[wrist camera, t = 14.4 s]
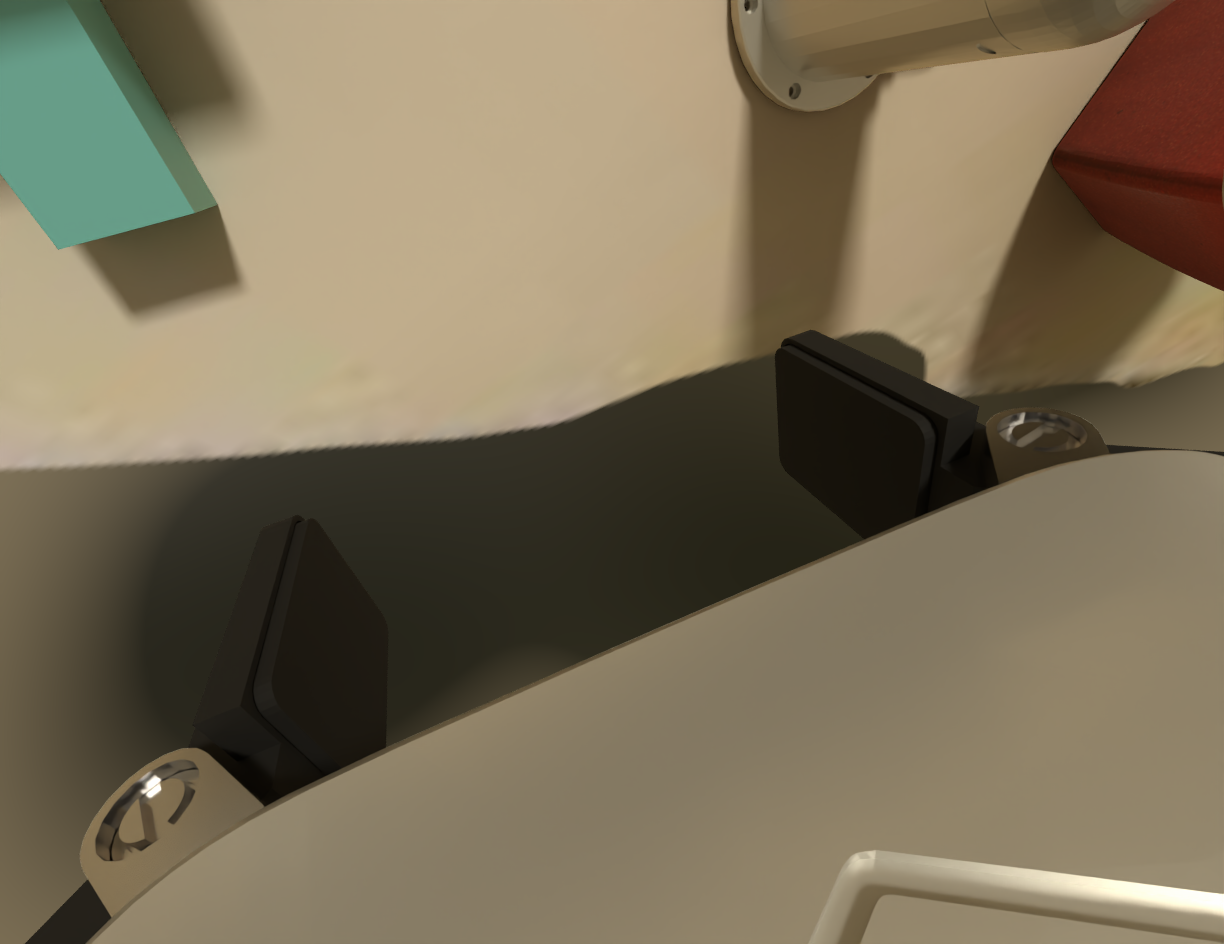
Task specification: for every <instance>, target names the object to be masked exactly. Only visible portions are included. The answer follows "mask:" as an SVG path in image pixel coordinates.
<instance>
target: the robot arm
mask: <svg viewBox="0 0 1224 944" xmlns="http://www.w3.org/2000/svg"><path fill="white" fill-rule="evenodd" d="M1174 1H1175V0H731V17H732V23H733V29H734V35H735V40H736V44H737V47H738V50H739V53H740V56H741V59H742V62H743V64H744V66H745V67H746V69H747V71H748V73H749V75H750V77H751V79H752V80H753V82H754V83H755V84H756V85H757V86H758V88H759V89H760V90H761V91H762V92H763V94H764V95H766V96H767V97H768V98H770V99H771V100H772V101H774V102H775V103H776V104H778V105H780V106H783V107H785V108H788V109H790V110H794V111H803V112H812V111H824V110H827V109H831V108H834V107H837V106H840V105H842V104H844V103H845V102H847V101H849V100H851V99H853V98H855V97H856V96H857V95H858V94H859V93H861V92H862V91H863V90H864V89H865V88H867V87H868V86H869V85H870V84H871V83H872V82H873V81H874V79H875V78H876V77H877V76H878V75H879V74H883V73H890V72H897V71H905V70H912V69H920V68H927V67H935V66H942V65H950V64H957V63H965V62H972V61H980V60H987V59H994V58H1002V57H1009V56H1017V55H1024V54H1032V53H1039V52H1050V51H1057V50H1064V49H1071V48H1076V47H1080V46H1085V45H1089V44H1093V43H1097V42H1100V41H1102V40H1105V39H1108V38H1111V37H1113V36H1116V35H1118V34H1121V33H1122V32H1124V31H1126V30H1128V29H1130V28H1132V27H1134V26H1136V25H1138V24H1140V23H1142V22H1144V21H1146V20H1147V19H1149V18H1150V17H1152V16H1154V15H1155V14H1157V13H1158V12H1160V11H1161V10H1162V9H1164V8H1165V7H1167V6H1168V5H1169V4H1171V3H1172V2H1174ZM744 2H745V3H746V10H745V7H744ZM1222 201H1223V207H1224V176H1223V185H1222ZM775 366H776V387H777V411H778V432H779V456H780V461H781V464H782V466H783V468H784V469H785V471H786V472H787V473H788V474H789V475H790V476H792V477H793V478H794V479H795V480H796V481H797V482H799V483H800V484H801V485H802V486H803V487H804V488H805V489H807V490H808V491H809V492H810V493H811V494H812V495H814V496H815V497H816V498H817V499H818V500H819V501H821V502H822V503H823V504H824V505H826V507H828V508H829V509H830V510H831V511H832V512H833V513H835V514H836V515H837V516H838V517H839V518H841V519H842V520H843V521H844V522H845V523H846V524H847V525H849V526H850V527H851V528H852V529H853V530H854V531H856V532H857V533H858V534H859V535H860V536H861V537H862V538H864V539H865V540H863V541H860V542H858V543H856V544H853V545H851V546H849V547H846V548H844V549H841V550H839V551H837V552H834V553H832V554H830V555H827V556H825V557H823V558H820V559H818V560H816V561H813V562H811V563H809V564H806V565H804V566H801V567H799V568H797V569H794V570H792V571H790V572H787V573H785V574H783V575H780V576H778V577H776V578H773V579H771V580H769V581H766V582H764V583H762V584H759V585H757V586H755V587H752V588H750V589H748V590H745V591H743V592H741V593H739V594H736V595H734V596H732V597H729V598H727V599H725V600H722V601H720V602H718V603H715V604H713V605H711V606H709V607H706V608H704V609H701V610H699V611H697V612H694V613H692V614H690V615H687V616H685V617H683V618H681V619H678V620H676V621H674V622H671V623H669V624H667V625H664V626H662V627H660V628H657V629H655V630H653V631H651V632H648V633H646V634H644V635H641V636H639V637H637V638H634V639H632V640H630V641H628V642H625V643H623V644H621V645H618V646H616V647H614V648H611V649H609V650H607V651H605V652H602V653H600V654H598V655H595V656H593V657H591V658H589V659H586V660H584V661H582V662H579V663H577V664H575V665H572V666H570V667H568V668H566V669H563V670H561V671H559V672H557V673H554V674H552V675H550V676H547V677H545V678H543V679H541V680H538V681H536V682H534V683H531V684H529V685H527V686H525V687H522V688H520V689H518V690H515V691H513V692H511V693H509V694H506V695H504V696H502V697H500V698H497V699H495V700H493V701H491V702H488V703H486V704H484V705H481V706H479V707H477V708H474V709H472V710H470V711H468V712H465V713H463V714H461V715H459V716H456V717H454V718H452V719H449V720H447V721H445V722H443V723H440V724H438V725H436V726H434V727H431V728H429V729H427V730H425V731H422V732H420V733H418V734H416V735H414V736H411V737H409V738H407V739H405V740H402V741H400V742H398V743H395V744H393V745H391V746H389V747H386V719H387V716H386V715H387V670H388V628H387V624H386V621H385V618H384V616H383V614H382V613H381V611H380V610H379V609H378V607H377V606H376V604H375V603H374V601H373V600H372V599H371V597H370V596H369V594H368V593H367V591H366V590H365V589H364V587H363V586H362V584H361V583H360V581H359V580H358V579H357V577H356V576H355V574H354V573H353V571H352V570H351V569H350V567H349V566H348V564H347V563H346V561H345V560H344V559H343V558H342V556H341V554H340V553H339V551H338V550H337V549H336V547H335V546H334V544H333V543H332V541H331V540H330V539H329V537H328V536H327V534H326V533H325V532H324V530H323V529H322V527H321V526H320V524H319V523H318V522H317V521H316V520H315V519H313V518H310V519H308V520H305V519H304V518H302V517H301V516H299V515H295V516H293V517H290V518H287V519H284V520H281V521H278V522H276V523H273V524H270V525H267V526H265V527H263V528H262V529H261V531H260V534H259V537H258V540H257V543H256V546H255V548H254V551H253V554H252V557H251V560H250V563H249V565H248V569H247V571H246V574H245V577H244V580H243V583H242V585H241V588H240V591H239V594H238V597H237V600H236V603H235V605H234V608H233V611H232V614H231V617H230V619H229V622H228V625H227V628H226V631H225V634H224V637H223V640H222V643H221V645H220V649H219V651H218V654H217V657H216V660H215V662H214V665H213V668H212V671H211V674H210V677H209V679H208V682H207V685H206V688H205V691H204V694H203V696H202V699H201V702H200V705H199V708H198V711H197V713H196V716H195V719H194V722H193V726H194V727H195V730H194V733H193V736H192V739H191V741H190V744H189V748H183V749H180V750H177V751H174V752H171V753H168V754H166V755H163V756H162V757H160V758H158V759H156V760H155V761H153V762H151V763H149V764H148V765H146V766H145V767H143V768H142V769H141V770H139V771H138V772H137V773H136V774H134V775H133V776H132V777H131V778H129V779H128V780H127V781H126V782H125V783H124V784H123V785H122V786H121V787H120V788H119V789H118V790H117V791H116V792H115V793H114V794H113V795H112V796H111V797H110V798H109V799H108V800H107V802H106V803H105V804H104V806H103V807H102V808H101V810H100V811H99V812H98V814H97V815H96V816H95V818H94V819H93V821H92V823H91V825H90V827H89V829H88V831H87V833H86V835H85V837H84V839H83V843H82V847H81V852H80V856H79V857H80V861H81V866H82V870H83V872H84V873H85V875H86V877H87V878H88V880H87V881H86V882H85V883H84V884H83V885H82V886H81V887H80V888H79V889H78V890H77V891H76V892H75V893H74V894H73V895H72V896H71V897H70V898H69V899H68V900H67V901H66V902H65V903H64V904H63V905H62V906H61V907H60V908H59V909H58V910H57V911H56V913H54V915H52V916H51V918H50V919H49V920H48V921H47V922H46V923H45V924H44V925H43V926H42V927H41V928H40V929H39V930H38V931H37V932H36V933H35V934H34V935H33V936H32V937H31V938H30V939H29V940H28V941H27V942H26V943H25V944H1224V452H1214V451H1199V450H1182V449H1165V448H1149V447H1132V446H1115V445H1106V444H1105V442H1104V440H1103V438H1102V436H1101V434H1100V433H1099V431H1098V430H1097V429H1096V428H1095V427H1094V426H1093V424H1091V423H1090V422H1088V421H1086V420H1085V419H1083V418H1081V417H1079V416H1076V415H1073V414H1071V413H1068V412H1064V411H1060V410H1055V409H1050V408H1036V407H1027V408H1015V409H1010V410H1006V411H1002V412H1000V413H998V414H996V415H994V416H992V417H991V418H990V419H989V421H988V422H987V423H986V426H984V425H982V424H980V423H978V422H976V419H977V414H978V409H979V406H977V405H974V404H972V403H970V402H968V401H966V400H964V399H962V398H959V397H957V396H955V395H953V394H951V393H949V392H946V391H944V390H942V389H940V388H938V387H936V386H933V385H931V384H929V383H927V382H925V381H923V380H920V379H918V378H916V377H914V376H911V375H910V374H907V373H905V372H903V371H901V370H899V369H897V368H894V367H892V366H890V365H888V364H886V363H884V362H881V361H879V360H877V359H875V358H873V357H870V356H868V355H866V354H864V353H862V352H860V351H858V350H855V349H853V348H851V347H849V346H847V345H845V344H842V343H840V342H838V341H836V340H834V339H832V338H830V337H827V336H825V335H823V334H821V333H819V332H817V331H814V330H809V331H806V332H803V333H800V334H798V335H795V336H792V337H789V338H787V339H784V341H783V342H782V344H781V348H779V349H778V350H777V351H776V354H775Z"/></svg>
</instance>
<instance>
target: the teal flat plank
mask: <svg viewBox="0 0 1224 944" xmlns="http://www.w3.org/2000/svg"><path fill="white" fill-rule="evenodd" d="M0 174H1V175H2V177H3V178H4V179H5V181H6V182H7V183H8V185H9V186H10V187H11V188H12V190H13V191H14V192H15V194H16V195H17V196H18V198H19V199H20V200H21V202H22V203H23V204H24V205H25V207H26V208H27V209H28V211H29V212H30V213H31V215H32V216H33V217H34V219H35V220H36V221H37V222H38V224H39V225H40V226H41V228H42V229H43V230H44V232H45V233H46V234H47V236H48V237H49V238H50V239H51V241H52V242H53V243H54V245H55V246H56V247H57V249H58V250H59V249H62V248H66V247H70V246H74V245H77V244H81V243H85V242H89V241H92V240H96V239H100V238H104V237H107V236H111V235H115V234H118V233H122V232H126V231H130V230H133V229H137V228H141V227H145V226H148V225H152V224H156V223H160V222H163V221H167V220H171V219H175V218H178V217H182V216H186V215H190V214H193V213H196V212H199V211H202V210H205V209H207V208H210V207H213V206H216V205H218V204H217V203H216V201H215V199H214V197H213V196H212V194H211V192H210V191H209V189H208V187H207V185H206V184H205V182H204V180H203V178H202V177H201V175H200V173H199V171H198V170H197V168H196V166H195V165H194V163H193V161H192V159H191V158H190V156H189V154H188V152H187V151H186V149H185V147H184V145H183V144H182V142H181V140H180V139H179V137H178V135H177V133H176V132H175V130H174V128H173V126H172V125H171V123H170V121H169V119H168V118H167V116H166V114H165V113H164V111H163V109H162V107H161V106H160V104H159V102H158V100H157V99H156V97H155V95H154V93H153V92H152V90H151V88H150V87H149V85H148V83H147V81H146V80H145V78H144V76H143V74H142V73H141V71H140V69H139V68H138V66H137V64H136V62H135V61H134V59H133V57H132V55H131V54H130V52H129V50H128V48H127V47H126V45H125V43H124V42H123V40H122V38H121V36H120V35H119V33H118V31H117V29H116V28H115V26H114V24H113V22H112V21H111V19H110V17H109V16H108V14H107V12H106V10H105V9H104V7H103V5H102V3H101V2H100V0H0Z"/></svg>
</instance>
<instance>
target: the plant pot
mask: <svg viewBox="0 0 1224 944" xmlns="http://www.w3.org/2000/svg"><path fill="white" fill-rule="evenodd" d="M1053 166H1054V168H1055V169H1056V170H1057V172H1058V173H1059V174H1060V176H1061V177H1062V178H1063V179H1064V180H1065V182H1066V183H1067V184H1068V186H1069V187H1070V188H1071V189H1072V191H1073V192H1074V193H1075V194H1076V196H1077V197H1078V198H1079V199H1080V201H1081V202H1082V203H1083V204H1084V206H1085V207H1086V208H1087V209H1088V211H1089V212H1090V213H1091V214H1092V216H1093V217H1094V218H1095V219H1096V220H1097V222H1098V223H1099V224H1100V226H1101V227H1102V228H1103V229H1104V230H1105V231H1106V232H1108V233H1109V234H1111V235H1113V236H1114V237H1116V238H1118V239H1119V240H1121V241H1123V242H1124V243H1126V244H1128V245H1130V246H1132V247H1134V248H1135V249H1137V250H1139V251H1141V252H1143V253H1145V254H1146V255H1148V256H1150V257H1152V258H1154V259H1156V260H1158V261H1160V262H1162V263H1164V264H1166V265H1168V266H1170V267H1172V268H1174V269H1176V270H1178V271H1180V272H1182V273H1184V274H1186V275H1188V276H1190V277H1193V278H1195V279H1197V280H1199V281H1201V282H1204V283H1206V284H1208V285H1210V286H1213V287H1215V288H1217V289H1220V290H1222V291H1224V207H1223V201H1222V185H1223V176H1224V0H1175V1H1174V2H1172V3H1171V4H1169V5H1168V6H1167V7H1165V8H1164V9H1162V10H1161V11H1160V12H1158V13H1157V14H1155V15H1154V16H1152V17H1151V18H1150V19H1149V20H1148V22H1147V23H1146V25H1145V26H1144V27H1143V29H1142V30H1141V31H1140V33H1139V34H1138V36H1137V37H1136V38H1135V40H1134V41H1133V42H1132V44H1131V45H1130V47H1129V48H1128V49H1127V51H1126V52H1125V53H1124V55H1123V56H1122V58H1121V59H1120V60H1119V62H1118V63H1117V65H1116V66H1115V67H1114V69H1113V70H1112V71H1111V73H1110V74H1109V76H1108V77H1107V78H1106V80H1105V81H1104V83H1103V84H1102V85H1101V87H1100V88H1099V90H1098V91H1097V92H1096V94H1095V95H1094V96H1093V98H1092V99H1091V101H1090V102H1089V103H1088V105H1087V106H1086V107H1085V109H1084V110H1083V112H1082V113H1081V115H1080V116H1079V117H1078V119H1077V120H1076V121H1075V123H1074V124H1073V126H1072V127H1071V128H1070V130H1069V131H1068V133H1067V134H1066V135H1065V137H1064V138H1063V139H1062V141H1061V142H1060V144H1059V145H1058V147H1057V148H1056V150H1055V153H1054V155H1053Z"/></svg>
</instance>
